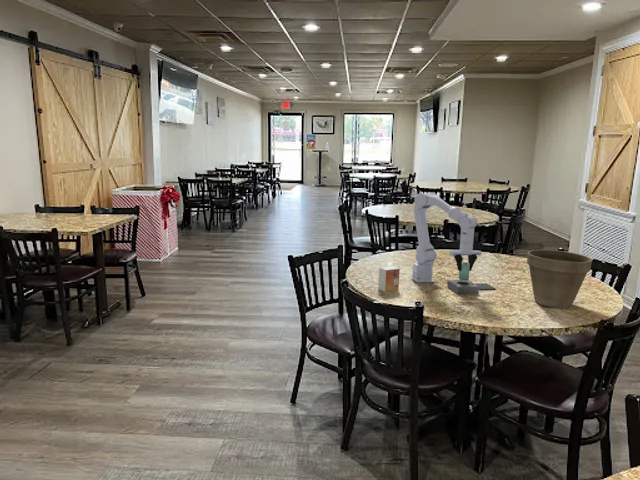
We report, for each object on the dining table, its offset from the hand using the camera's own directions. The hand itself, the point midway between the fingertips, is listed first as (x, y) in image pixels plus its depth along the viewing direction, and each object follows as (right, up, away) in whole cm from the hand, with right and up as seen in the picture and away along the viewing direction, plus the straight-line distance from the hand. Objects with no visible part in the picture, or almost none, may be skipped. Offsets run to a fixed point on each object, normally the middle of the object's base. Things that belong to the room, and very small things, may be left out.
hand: (464, 270), depth 225 cm
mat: (+11, -9, +7) cm, 16 cm away
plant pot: (+35, -14, -15) cm, 40 cm away
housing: (0, -10, +2) cm, 10 cm away
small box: (-36, -9, 0) cm, 37 cm away
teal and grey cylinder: (0, -4, +1) cm, 4 cm away
